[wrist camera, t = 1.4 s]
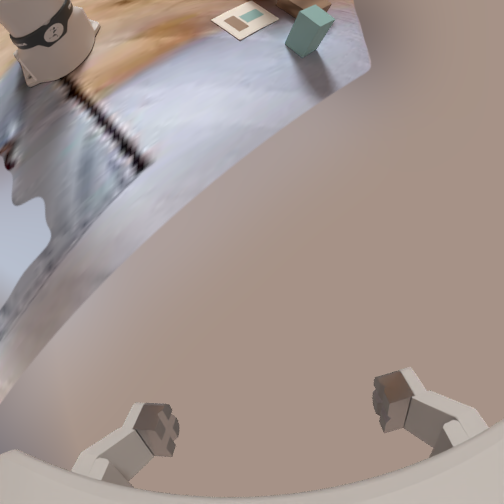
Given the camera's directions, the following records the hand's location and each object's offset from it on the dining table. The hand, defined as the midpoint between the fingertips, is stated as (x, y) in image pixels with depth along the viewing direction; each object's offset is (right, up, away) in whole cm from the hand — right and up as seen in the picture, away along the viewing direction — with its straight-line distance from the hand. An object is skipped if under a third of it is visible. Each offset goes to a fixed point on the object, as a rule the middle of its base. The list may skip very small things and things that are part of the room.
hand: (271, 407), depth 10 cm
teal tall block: (+9, +45, +34) cm, 57 cm away
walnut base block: (+10, +58, +34) cm, 68 cm away
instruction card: (-2, +51, +32) cm, 61 cm away
